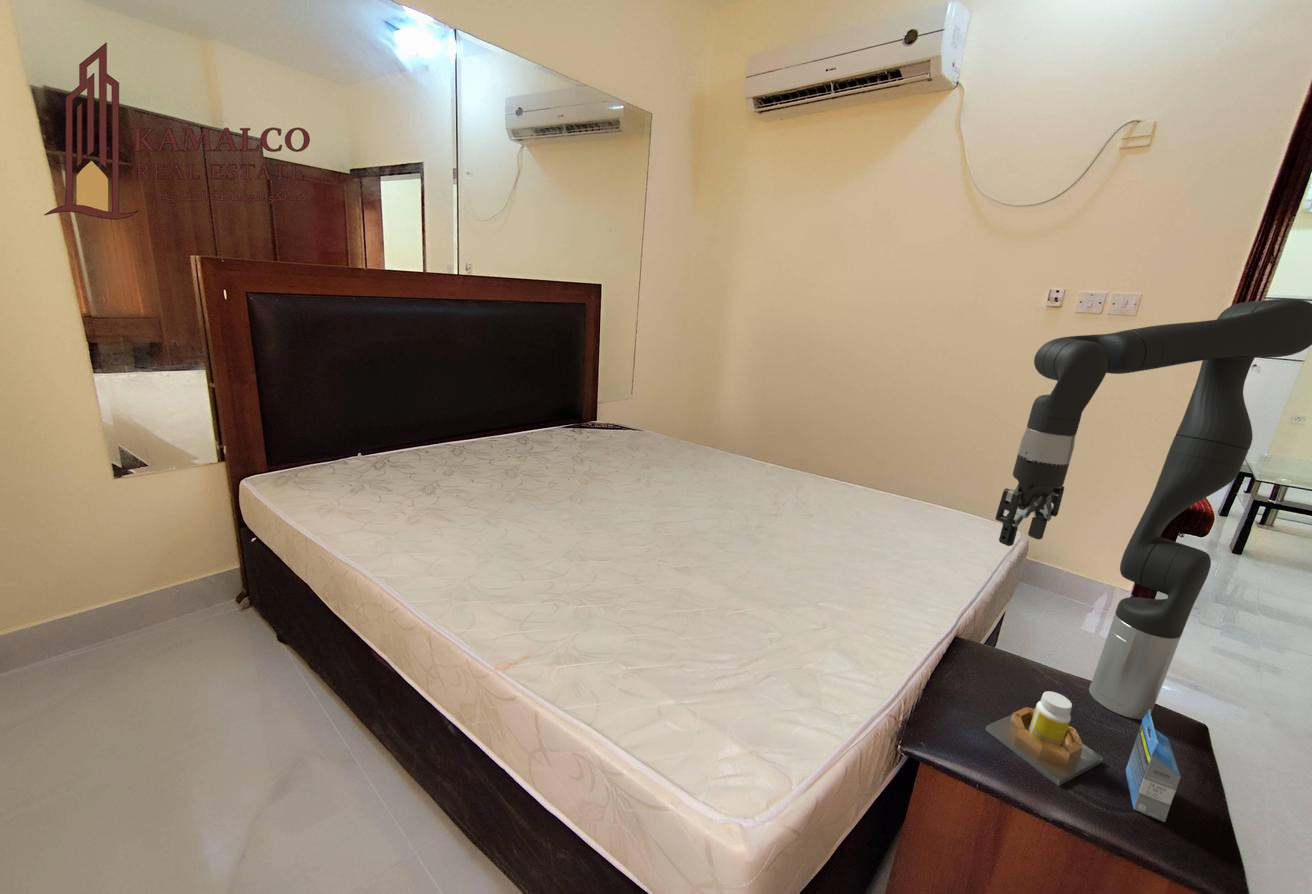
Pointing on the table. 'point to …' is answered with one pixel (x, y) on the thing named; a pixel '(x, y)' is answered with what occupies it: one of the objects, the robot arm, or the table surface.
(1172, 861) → the table surface
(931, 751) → the table surface
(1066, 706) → the supplement bottle
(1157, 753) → the label tape box
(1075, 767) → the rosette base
